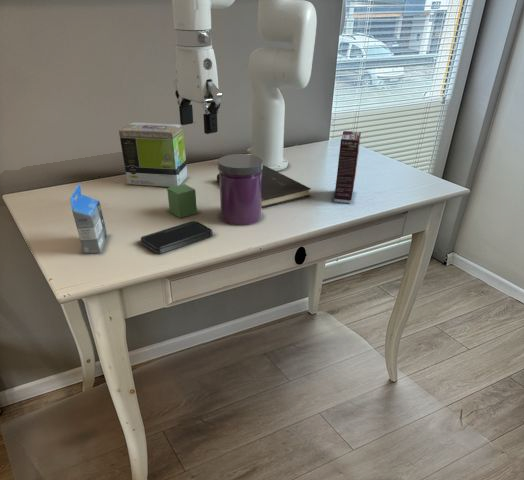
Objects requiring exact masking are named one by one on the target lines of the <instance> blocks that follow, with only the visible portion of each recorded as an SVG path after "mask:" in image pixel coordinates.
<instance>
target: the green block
mask: <svg viewBox="0 0 524 480" xmlns="http://www.w3.org/2000/svg"><path fill="white" fill-rule="evenodd" d="M166 190H167V200H168V207H169V208H168V209H169V213H171V214H173V215H174V216H175V217H177V218H179V219H181V218H185V217H188V216H192V215H195V214H198V207H197V196H196V195H197V193H196V189H195V188H193V187H192V186H189V185H188V184H185V183H183V184H182V183H181V184H180V185H178V186H174V187H167V188H166Z"/></svg>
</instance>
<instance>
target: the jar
mask: <svg viewBox="0 0 524 480" xmlns="http://www.w3.org/2000/svg"><path fill="white" fill-rule="evenodd" d="M262 169H263V160H262V159H261V158H260V157H257V156H254V155H251V154H249V153H234V154H233V153H232V154H228V155H224V156H221V157H220V158H218V159H217V170H218V172H219V173H218V174H219V180H220V182H219V200H220V203H219V204H220V219H221V220H222V221H223V222H225V223H226V224H229V225H233V226H234V225H235V226H249V225H252V224H253V225H254V224H256V223H258V222H260V221H261V220H262V211H263V208H262V171H261V170H262Z"/></svg>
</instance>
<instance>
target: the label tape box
mask: <svg viewBox="0 0 524 480" xmlns="http://www.w3.org/2000/svg"><path fill="white" fill-rule="evenodd" d="M81 186H82V185H81V182H80V183H78V185H77V186H76V188H75V189H74V191H73V193H72V194H71V196H70V198H69V201H70V206H71V207H70V208H71V211H72V215H73V218H74V223H75V226H76V231H77V233H78V238H79V242H80V244H81V249H82V252H83V254H100V253H102V250H103V248H104V245H105V242H106V239H107V237H108V233H107V227H106V225H105V218H104V214H103V210H102V207H101V202H100V200H98V199H96V198H93V197H90V196H87V195H85V194H82V188H81ZM76 196H77V197H76Z"/></svg>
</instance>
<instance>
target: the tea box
mask: <svg viewBox="0 0 524 480" xmlns="http://www.w3.org/2000/svg"><path fill="white" fill-rule="evenodd" d="M118 134H119V140H120V141H119V142H120V146H121V147H120V148H121V152H122V159H123V165H124V170H125V171H124V172H125V175H126V176H125V178H126V182H127V183H126V184H127V185H135V186H151V187H152V186H153V187H167V188H170V187H174V186H178V185H182V183H183V182H184V181H186V179H187V178H188V169H187V168H188V167H187V156H186V145H185V134H184V125H181V124H180V123H168V122H167V123H166V122H165V123H164V122H143V121H142V122H141V121H140V122H139V121H131V122H130V123H129V124H127V125H125V126H123V127H122V128H120V129H119V130H118Z"/></svg>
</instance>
